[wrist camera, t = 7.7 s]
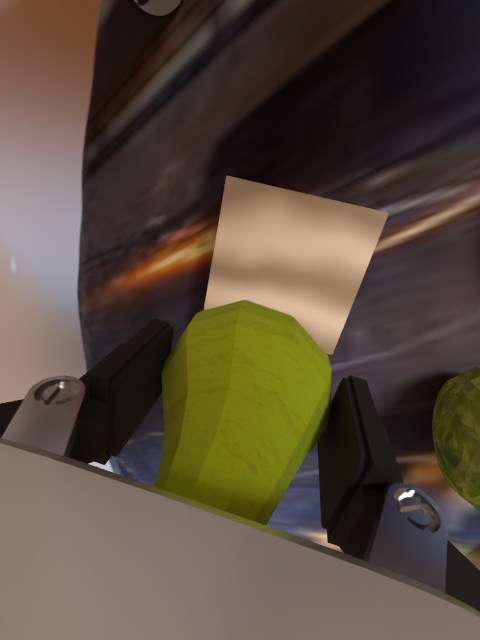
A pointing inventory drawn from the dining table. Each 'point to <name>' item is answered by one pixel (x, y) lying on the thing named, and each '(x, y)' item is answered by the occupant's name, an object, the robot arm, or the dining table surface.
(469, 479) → the lettuce
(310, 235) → the plinth
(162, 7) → the lotion bottle
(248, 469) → the fruit
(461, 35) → the dining table surface
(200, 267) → the dining table surface
